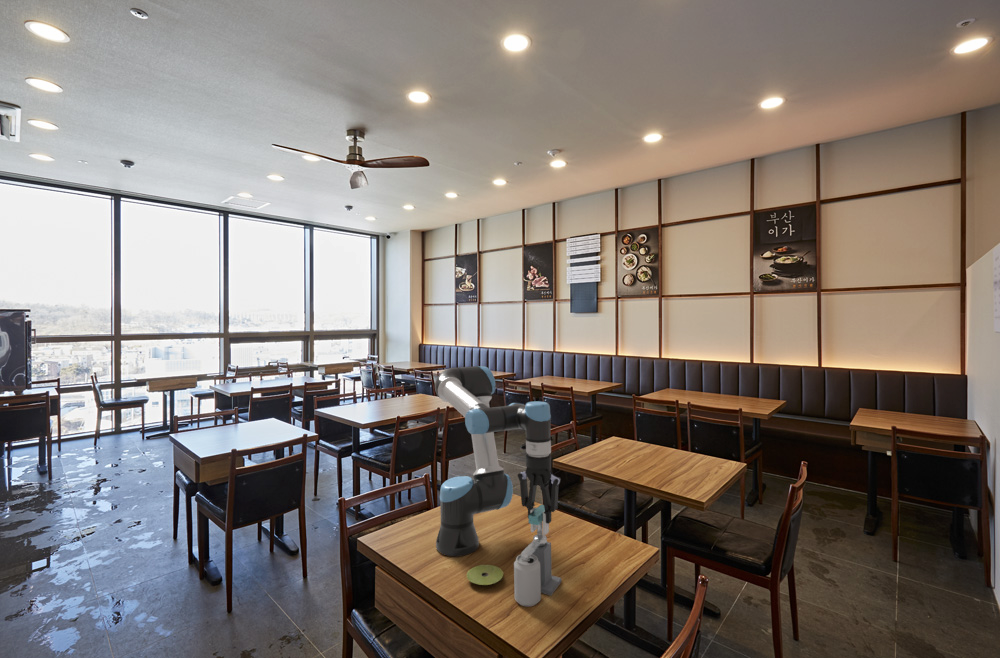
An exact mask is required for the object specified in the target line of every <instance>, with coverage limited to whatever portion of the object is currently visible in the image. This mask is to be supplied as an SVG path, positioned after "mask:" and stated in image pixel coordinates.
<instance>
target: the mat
mask: <svg viewBox="0 0 1000 658" xmlns="http://www.w3.org/2000/svg"><path fill="white" fill-rule="evenodd" d="M503 577H504V571H503V570H502V569H501V568H500V567H499V566H496V565H491V564H480V565H479V564H478V565H476V566H473V567H472V568H470V569H469V570H468V571H467V573H466V579H467V580H468V582H470V583H472V584H474V585H475V584H476V585H479V586H481V585H482V586H488V585H492V584H493V585H494V584H496V583H498V582H499V581H501V580H502V578H503Z"/></svg>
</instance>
